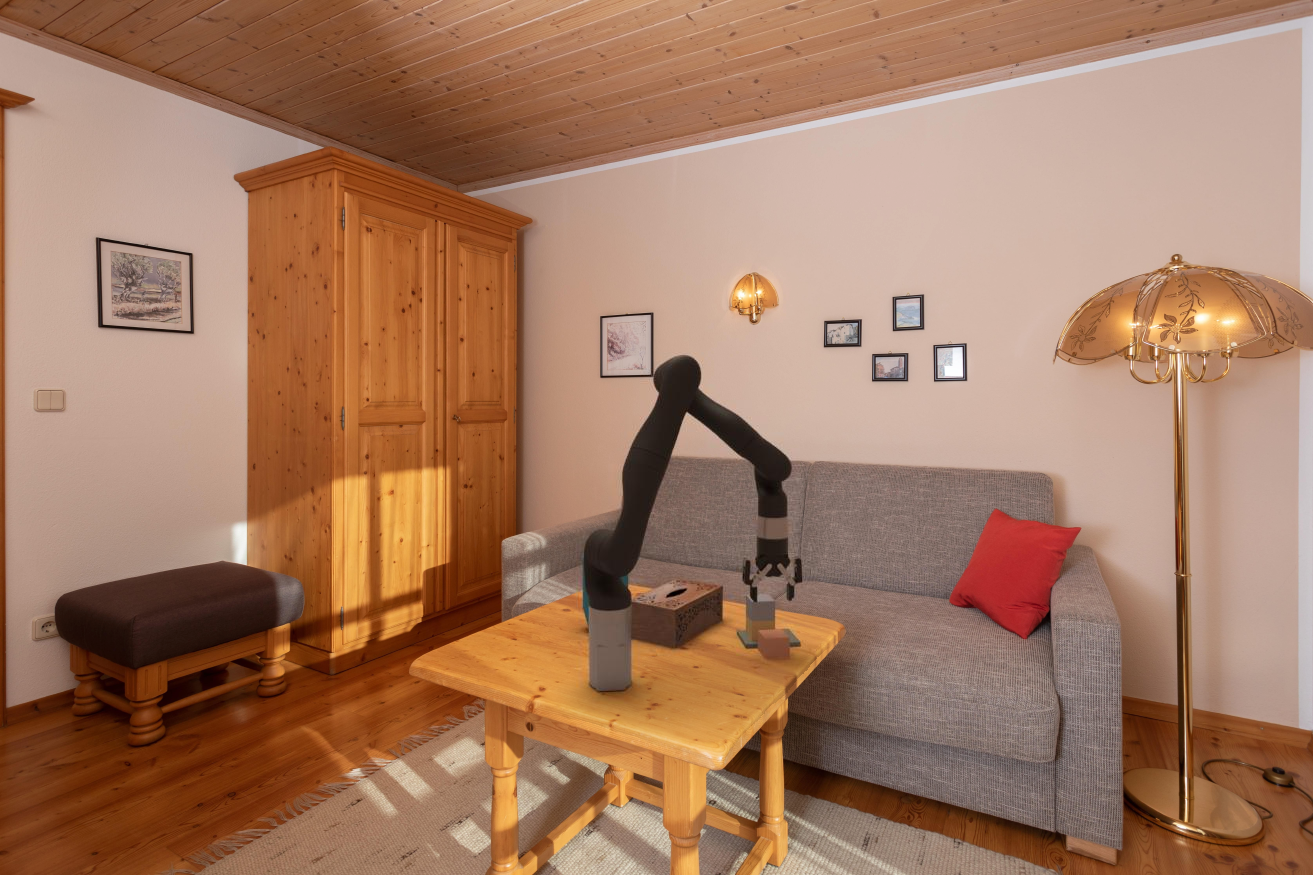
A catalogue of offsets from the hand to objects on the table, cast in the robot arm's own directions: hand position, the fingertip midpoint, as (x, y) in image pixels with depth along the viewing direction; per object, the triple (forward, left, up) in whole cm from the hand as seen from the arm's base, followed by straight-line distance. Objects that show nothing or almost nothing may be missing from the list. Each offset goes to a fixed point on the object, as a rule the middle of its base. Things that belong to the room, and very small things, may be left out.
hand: (772, 600), depth 165 cm
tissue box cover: (+20, +21, -13) cm, 32 cm away
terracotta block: (0, 0, -13) cm, 13 cm away
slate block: (+9, +1, -7) cm, 11 cm away
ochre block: (+9, +1, -12) cm, 15 cm away
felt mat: (+9, -1, -13) cm, 16 cm away
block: (+21, +40, -13) cm, 46 cm away
